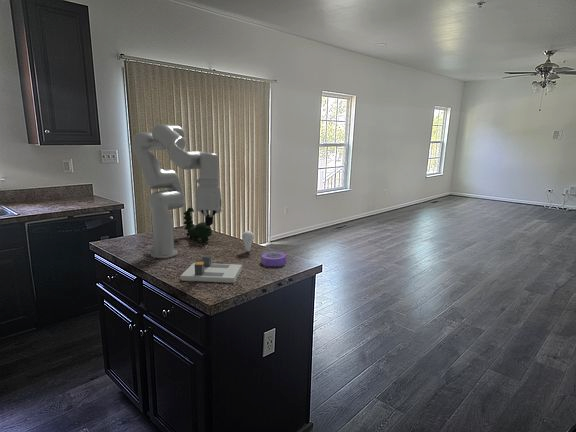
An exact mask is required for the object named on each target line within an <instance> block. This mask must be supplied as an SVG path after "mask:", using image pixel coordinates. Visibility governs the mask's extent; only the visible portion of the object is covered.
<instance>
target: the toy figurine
mask: <svg viewBox="0 0 576 432" xmlns="http://www.w3.org/2000/svg"><path fill="white" fill-rule="evenodd" d="M186 209H187V210H186V211H185V212H183V215H184V216H183V220H185V221H183V224H184V225H185V227H184V230H186V231H187V233H186V237H189V240H194V241H197V240H198V239H200V241H201V242H202V243H207V242H208V241H209V237H211V236H212V234H213V233H212V232H213V231H212V225H211V226H206V223H205V221H201V222H198V223H197V224H196V225H194V224H193V217H192V215H191V212H192V213H194V211H195V210H194V208H193V207H188V208H186Z"/></svg>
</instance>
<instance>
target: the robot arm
mask: <svg viewBox="0 0 576 432" xmlns="http://www.w3.org/2000/svg"><path fill="white" fill-rule="evenodd" d="M131 147H132V151H133V154H134V156H135V158H136V159H137V161H138V163H139V166H140V169H141V173H142V177H143V179H144V181H145V184H146V186H147V188H148V189H150V190H159V191H154V192H152V193H150V195H149V197H148V205H149V210H150V213H151V221H152V222H151V223H152V240H153V245H146V247H145V248H146V251H151V252H150V256H151V257H152V258H155V259H167V258H172V257H175V256H177V255H178V254H179V251H178V250H177V249H175V238H174V237H175V236H174V235H175V234H174V221H173V220H174V219H173V217H172V215H171V213H170V212H169V211H170V210H177V209H180V208H182V207H184V205H185V204H186V195H185V193H184V190H183V186H182V183H181V180H180V177H179V175H178V173H177V172H176V171H175V170H174V169H171V168H170V169H169V168H165V169H164V168H163V169H162V168H161V166H160V162H159V160H158V159H157V157H156V156H155V155H154V154H153V153H152V152H151V151H167V153H168V157H169V159H170V161H171V162H172V163H173V164H174V165H175V166H177V167H178V168H179V169H181V170H186V171H188V170H199V178H197V179H196V184H197V183H198V184H199V185H197V188H196V194H195V195H196V196H195V208H196V211H197V212H198V213H201V214H202V215H203V216H204V222H205V223H206V226H211V227H212V225H213V224H214V216H215V215H216V214H219V213H220V214H221V213H222V212H223V211H222V203H223V202H222V201H223V200H222V194H221V193H222V191H221V187H220V185H219V155H218V154H217V153H214V152H207V151H204V150H203V151H202V150H187V151H185V150H184V149H185V147H186V139H185V132H184V129H183V128H182V127H181V126H179V125H178V124H169V123H168V124H167V123H166V124H165V123H160V124H157V125H155V126H154V127H153V128H152V130H151V131H140V132H137V133H136V134H134V135H133V137H132V140H131ZM162 189H167V190H162Z"/></svg>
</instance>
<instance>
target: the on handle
mask: <svg viewBox="0 0 576 432" xmlns="http://www.w3.org/2000/svg"><path fill="white" fill-rule="evenodd" d="M201 259H202V260H201V262H204V266H210V265H211V263H212V255H210V254H204V255H202V257H201Z"/></svg>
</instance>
